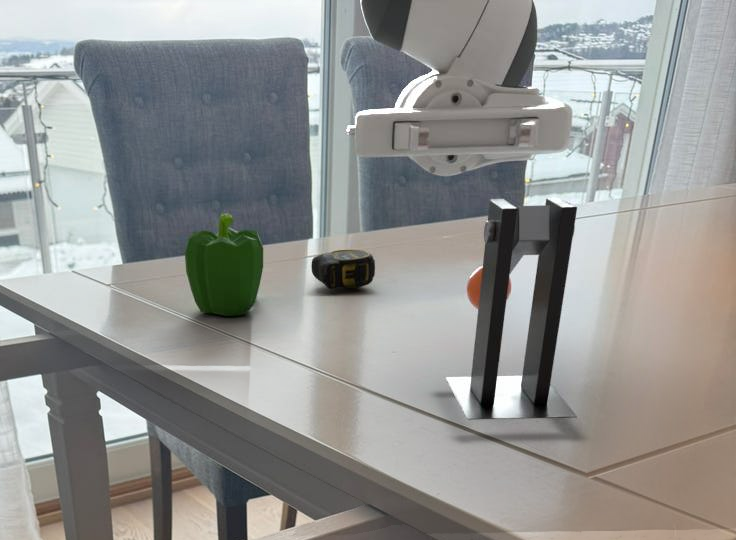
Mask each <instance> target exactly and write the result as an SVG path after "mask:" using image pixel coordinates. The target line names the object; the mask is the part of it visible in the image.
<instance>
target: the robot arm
mask: <svg viewBox="0 0 736 540" xmlns="http://www.w3.org/2000/svg"><path fill="white" fill-rule="evenodd" d="M359 2H360V8H361V12H362V16H363V19H364V23H365V25H366V28H367V31H368V33H369V35H370V37H371V39H372V40H373V41H376V42H378V43H380V44H382V45H384V46H387V47H389V48H390V49H392V50H395V51H397V52H399V53H400V52H403V53H404V54H406V55H408V56H409V57H410V58H413V59H414V60H416V61H417V62H419V63H421V64H423V65H424V66H426V67H428V68H430V69H431V70H432V71H431V72H429V73H428V74H425V75H422V76H419V77H418V78H416V79H414V80H412V81H411V82H410V83H408V85H407V86H406V87H405V88H404V89H403V90H402V91H401V93H400V95H399V97H398V99H397V100H396V102H395V106H394V108H378V109H376V108H375V109H367V110H362V111H359V112H357V113H356V115H355V118H354V121H355V123H354V125H348V126H347V129H346V133H347V136H348V137H351V138H354V154H355V155H356V156H357V157H360V158H391V157H392V158H393V157H396V158H397V157H399V158H400V157H408V158H409V159H410V160H412V161H413V162H414V163H415V164H417V165H418V166H419V167H421V168H422V169H423V170H424V171H426V172H428V173H430V174H433V175H435V176H439V177H451V176H456V175H461V174H462V173H465V172H469V171H473V170H477V169H480V168H483V167H486V166H489V165H499V164H505V163H517V162H520V161H529V160H531V159H532V157H533V155H535V156H536V155H546V154H558V153H563V152H565V151H566V150H567V148H568V147H569V144H570V138H571V132H572V125H573V123H572V122H573V109H572V107H571V105H569V104H567V103H565V102H563V101H561V100H558V99H555V98H553V97H549V96H543V95H540V93H541V92H540V89H539V88H538V87H534V86H524V85H520V84H521V82H522V81H523V79H524V77H525V75H526V74H527V71H528V69H529V67H530V64H531V62H532V60H533V57H534V55H535V52H536V49H537V43H538V16H537V15H538V14H537V9H536V5H535V2H534V0H359Z"/></svg>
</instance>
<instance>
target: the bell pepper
mask: <svg viewBox="0 0 736 540" xmlns="http://www.w3.org/2000/svg"><path fill="white" fill-rule="evenodd" d="M233 222H234V218H233V217H232V215H231V214H230V213H221V215H220V216H219V219H218V232H217V233H214V232H212V231H210V230H197V231H193V232H192V233H191V235H190V237H189V238H188V240H187V243H186V247H185V250H184V260H185V261H184V262H185V273H186V275H187V279H188V284H189V287H190V288H189V289H190V291H191V294H192V297H193V300H194V303H195V304H196V306H197V308H198V309H199V311H200V313H204V314H210V315H211V314H214V315H215V314H217V315H221V316H224V317H229V316H233V317H234V316H242V315H246V314H248V312H250V311H251V309H252V308H253V306H254V304H255V303H256V300H257V298H258V293H259V290H260V286H261V285H260V284H261V281H262V276H263V269H264V246H263V243H262V240H261V238H260V236H259V233H258V230H249V229H245V230H241V231H238V230H236V229H233V228H230V226H232V224H233Z"/></svg>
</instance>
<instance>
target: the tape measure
mask: <svg viewBox="0 0 736 540" xmlns="http://www.w3.org/2000/svg"><path fill="white" fill-rule="evenodd" d="M311 273H312V276H313V277H314V278H315V279H316V280H318V281H319V282H320V283H322V284H323V285H324V286H325V287H327V288H328V289H329V290H333V289H334V290H335V289H359V288H361V287H365V286H368V285H370V284H371V283H372V282H373V280H374V277H375V275H376V261H375V258H374V256H373V254H372V253H371V252H369V251H365V250H363V249H362V250H361V249H338V250H334V251H330V252H325V253H322V254H319V255H316V256H314V257H312V259H311Z"/></svg>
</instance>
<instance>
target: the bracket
mask: <svg viewBox="0 0 736 540" xmlns="http://www.w3.org/2000/svg"><path fill="white" fill-rule="evenodd" d="M545 205H550V241H549V242H548V243H547V245H546V246H545V247H544V248H543V250H542V251H541V252H540V254H539V255H537V256H538V257H537V263H536V264H537V265H536V271H535V279H534V287H533V295H532V301H531V308H530V315H529V323H528V330H527V338H526V344H525V345H526V346H525V352H524V360H523V368H522V374H521V375H498V373H499V365H500V358H501V357H500V356H501V348H502V341H503V334H504V333H503V331H504V324H505V323H504V322H505V315H506V307H507V301H508V299H507V291H508V283H509V277H510V274H511V273H510V267H511V258H512V250H513V242H514V234H515V225H516V217H517V208H518V207H515V206H514V205H513V204H511V203H510V202H508V201H507V200H505V199H504V198H491V199H489V204H488V212H487V213H488V214H487V220H486V221H485V223H484V227H483V228H484V229H483V240H484V242H485V243H484V249H483V250H484V251H483V262H482V266H483V269H482V279H481V288H480V298H479V307H478V309H477V317H476V318H477V319H476V328H475V338H474V345H473V356H472V366H471V375H470V376H445V380H446V382H447V384H448V386H449V387H450V389H451V391H452V394H453V395H454V397H455V399H456V400H457V402H458V405H459V406H460V408H461V410H462V413H464V415H465V418H466V419H467V420H508V419H510V420H513V419H514V420H515V419H516V420H517V419H565V418H567V419H570V418H572V419H573V418H578V416H577V414H576V413H575V412H574V411H573V410H572V408H571V407H570V406H569V405H568V404H567V402H566V401H565V400H564V399H563V397H562V396H561V395H560V394H559V393H558V391H557V390H556V389H555V388H554V387H553V385H552V384H551V383H552V375H553V368H554V363H555V362H554V361H555V355H556V350H557V342H558V335H559V329H560V324H561V316H562V310H563V305H564V304H563V303H564V297H565V290H566V284H567V277H568V270H569V264H570V259H571V258H570V257H571V251H572V244H573V238H574V235H575V230H576V229H575V228H576V225H575V224H576V220H577V219H576V218H577V217H576V216H577V213H578V212H577V211H578V207H577V206H575V205H574V204H572V203H570V202H568V201H567V200H564V199H563V198H561V197H547V198H545ZM506 300H507V301H506Z"/></svg>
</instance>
